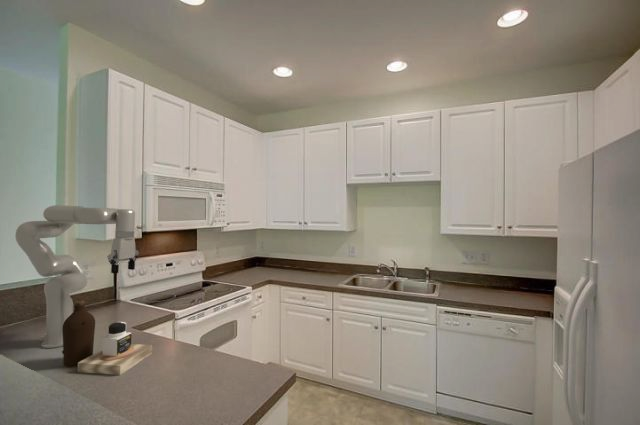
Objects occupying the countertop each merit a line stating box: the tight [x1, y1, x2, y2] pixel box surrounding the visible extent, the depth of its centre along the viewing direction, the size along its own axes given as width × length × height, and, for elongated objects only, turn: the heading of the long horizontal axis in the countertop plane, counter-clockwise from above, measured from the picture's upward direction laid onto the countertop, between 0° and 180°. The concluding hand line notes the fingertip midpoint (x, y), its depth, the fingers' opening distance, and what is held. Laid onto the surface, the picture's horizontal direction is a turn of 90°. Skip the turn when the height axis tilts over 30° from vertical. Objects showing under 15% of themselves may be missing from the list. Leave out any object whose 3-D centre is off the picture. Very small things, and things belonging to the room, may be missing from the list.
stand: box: [77, 343, 153, 376], centre depth 122 cm, size 18×18×4 cm
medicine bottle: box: [102, 321, 132, 357], centre depth 122 cm, size 7×7×12 cm
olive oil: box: [61, 299, 96, 368], centre depth 122 cm, size 11×11×25 cm
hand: (123, 271), depth 139 cm, fingers open, 9 cm apart
